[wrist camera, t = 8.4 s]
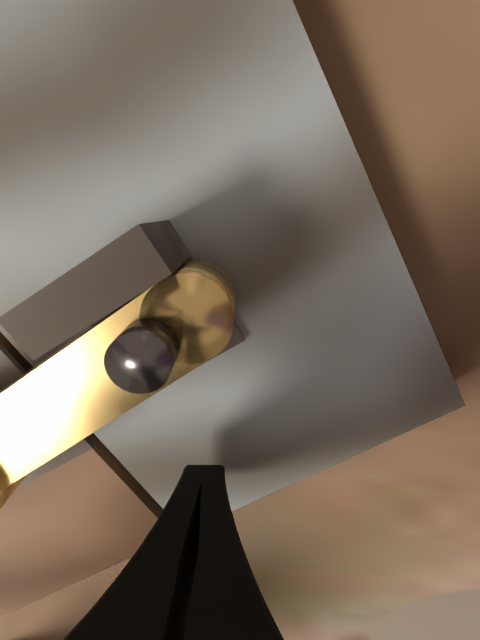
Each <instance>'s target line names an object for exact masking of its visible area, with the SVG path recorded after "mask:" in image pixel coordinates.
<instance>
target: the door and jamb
mask: <svg viewBox="0 0 480 640" xmlns="http://www.w3.org/2000/svg"><path fill="white" fill-rule="evenodd" d="M192 259H203V260H207V261H210V262H213V263H215V264H217V265H218V266H220V267H221V268H222V269H223V270H224V271H225V272H226V273H227V274H228V276H229V277H230V279H231V281H232V283H233V286H234V291H235V304H234V326H233V331H232V335H231V338H230V340H229V342H228V343H227V345H226V346H225V347H224V349H223V350H222V351H221V352H220V353H219V354H217V355H216V356H214V357H213V358H211V359H210V360H208V361H207V362H205V363H203V364H202V365H200V366H199V367H197V368H195V369H194V370H192V371H191V372H189V373H187V374H186V375H184V376H183V377H181V378H179V379H178V380H176V381H175V382H173V383H172V384H170V385H168V386H167V387H165V388H164V389H162V390H160V391H159V392H157V393H156V394H154V395H152V396H151V397H149V398H148V399H146V400H144V401H143V402H141V403H140V404H138V405H137V406H135V407H133V408H132V409H130V410H129V411H127V412H125V413H124V414H122V415H121V416H119V417H117V418H116V419H114V420H113V421H111V422H109V423H108V424H106V425H105V426H103V427H101V428H100V429H98V430H97V431H95V432H94V433H92V434H90V435H89V436H87V437H86V438H84V439H82V440H81V441H79V442H78V443H76V444H74V445H73V446H71V447H70V448H68V449H66V450H65V451H63V452H62V453H60V454H59V455H57V456H55V457H54V458H52V459H51V460H49V461H47V462H46V463H44V464H43V465H41V466H39V467H38V468H36V469H35V470H33V471H31V472H30V473H29V474H28V475H27V476H26V478H25V479H24V480H23V481H22V483H21V484H20V485H19V486H18V488H17V489H16V490H15V491H14V493H13V494H12V495H11V496H10V498H9V499H8V500H7V502H6V503H5V504H4V505H3V507H2V508H1V509H0V617H1V616H3V615H6V614H8V613H10V612H12V611H14V610H17V609H19V608H21V607H23V606H25V605H28V604H30V603H32V602H34V601H36V600H38V599H41V598H43V597H45V596H47V595H49V594H52V593H54V592H56V591H58V590H60V589H63V588H65V587H67V586H69V585H71V584H74V583H76V582H78V581H80V580H82V579H85V578H87V577H89V576H91V575H93V574H96V573H98V572H100V571H102V570H104V569H107V568H109V567H111V566H113V565H115V564H118V563H120V562H122V561H124V560H126V559H129V558H131V557H133V555H134V554H135V553H136V551H137V550H138V548H139V547H140V545H141V544H142V542H143V541H144V539H145V538H146V536H147V535H148V533H149V532H150V530H151V529H152V527H153V526H154V524H155V522H156V521H157V519H158V518H159V516H160V514H161V512H162V511H163V509H164V507H165V506H166V504H167V502H168V500H169V499H170V497H171V495H172V493H173V491H174V489H175V487H176V485H177V483H178V481H179V479H180V477H181V475H182V473H183V470H184V468H185V467H186V466H187V465H222V466H224V467H225V482H226V489H227V494H228V499H229V503H230V507H231V511H234V510H236V509H238V508H240V507H243V506H245V505H247V504H249V503H251V502H254V501H256V500H258V499H260V498H262V497H265V496H267V495H269V494H271V493H273V492H276V491H278V490H280V489H282V488H284V487H287V486H289V485H291V484H293V483H295V482H298V481H300V480H302V479H304V478H306V477H309V476H311V475H313V474H315V473H317V472H319V471H322V470H324V469H326V468H328V467H330V466H333V465H335V464H337V463H339V462H341V461H344V460H346V459H348V458H350V457H352V456H355V455H357V454H359V453H361V452H363V451H366V450H368V449H370V448H372V447H374V446H377V445H379V444H381V443H383V442H385V441H388V440H390V439H392V438H394V437H396V436H399V435H401V434H403V433H405V432H407V431H410V430H412V429H414V428H416V427H418V426H420V425H423V424H425V423H427V422H429V421H431V420H434V419H436V418H438V417H440V416H442V415H445V414H447V413H449V412H451V411H453V410H456V409H458V408H460V407H462V406H464V405H465V403H464V401H463V399H462V396H461V394H460V392H459V389H458V387H457V385H456V382H455V380H454V378H453V375H452V373H451V370H450V368H449V366H448V363H447V361H446V359H445V356H444V354H443V352H442V349H441V347H440V345H439V342H438V340H437V338H436V335H435V333H434V331H433V328H432V326H431V324H430V321H429V319H428V317H427V314H426V312H425V310H424V307H423V305H422V303H421V300H420V298H419V296H418V293H417V291H416V289H415V286H414V284H413V281H412V279H411V277H410V274H409V272H408V270H407V267H406V265H405V263H404V260H403V258H402V256H401V253H400V251H399V249H398V246H397V244H396V242H395V239H394V237H393V235H392V232H391V230H390V228H389V225H388V223H387V221H386V218H385V216H384V214H383V211H382V209H381V207H380V204H379V202H378V199H377V197H376V195H375V192H374V190H373V188H372V185H371V183H370V181H369V178H368V176H367V174H366V171H365V169H364V167H363V164H362V162H361V160H360V157H359V155H358V153H357V150H356V148H355V146H354V143H353V141H352V139H351V136H350V134H349V132H348V129H347V127H346V125H345V122H344V120H343V118H342V115H341V113H340V110H339V108H338V106H337V103H336V101H335V99H334V96H333V94H332V92H331V89H330V87H329V85H328V82H327V80H326V78H325V75H324V73H323V71H322V68H321V66H320V64H319V61H318V59H317V57H316V54H315V52H314V50H313V47H312V45H311V43H310V40H309V38H308V36H307V33H306V31H305V29H304V26H303V24H302V21H301V19H300V17H299V14H298V12H297V10H296V7H295V5H294V3H293V0H0V391H1V390H2V389H4V388H5V387H6V386H8V385H9V384H11V383H12V382H14V381H15V380H16V379H18V378H19V377H21V376H22V375H23V374H25V373H26V372H28V371H29V370H30V369H32V368H33V367H35V366H36V365H37V364H39V363H40V362H42V361H43V360H44V359H46V358H47V357H49V356H50V355H51V354H53V353H54V352H56V351H57V350H59V349H60V348H61V347H63V346H64V345H66V344H67V343H68V342H70V341H71V340H73V339H74V338H75V337H77V336H78V335H80V334H81V333H82V332H84V331H85V330H87V329H88V328H89V327H91V326H92V325H94V324H95V323H96V322H98V321H99V320H101V319H102V318H104V317H105V316H106V315H108V314H109V313H111V312H112V311H113V310H115V309H117V308H118V307H120V306H121V305H123V304H125V303H126V302H128V301H129V300H131V299H133V298H134V297H136V296H137V295H139V294H141V293H142V292H144V291H145V290H147V289H149V288H150V287H152V286H154V285H155V284H157V283H158V282H160V281H162V280H163V279H165V278H166V277H168V276H170V275H171V274H173V273H174V272H175V271H176V270H177V269H178V268H179V267H180V266H181V265H182V264H183V263H184V262H185V261H187V260H192Z"/></svg>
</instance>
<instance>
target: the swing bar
mask: <svg viewBox="0 0 480 640" xmlns="http://www.w3.org/2000/svg"><path fill="white" fill-rule="evenodd" d="M234 304H235V291H234V286H233V283H232V281H231V279H230V277H229V276H228V274H227V273H226V272H225V271H224V270H223V269H222V268H221V267H220V266H218V265H217V264H215V263H213V262H210V261H207V260H203V259H192V260H187V261H185V262H184V263H183V264H182V265H181V266H180V267H179V268H178V269H177V270H176V271H175V272H174V273H173V274H171V275H170V276H168V277H166V278H165V279H163V280H162V281H160V282H158V283H157V284H155V285H154V286H152V287H150V288H149V289H147V290H145V291H144V292H142V293H141V294H139V295H137V296H136V297H134V298H133V299H131V300H129V301H128V302H126V303H125V304H123V305H121V306H120V307H118V308H117V309H115V310H113V311H112V312H111V313H109V314H108V315H106V316H105V317H104V318H102V319H101V320H99V321H98V322H96V323H95V324H94V325H92V326H91V327H89V328H88V329H87V330H85V331H84V332H82V333H81V334H80V335H78V336H77V337H75V338H74V339H73V340H71V341H70V342H68V343H67V344H66V345H64V346H63V347H61V348H60V349H59V350H57V351H56V352H54V353H53V354H51V355H50V356H49V357H47V358H46V359H44V360H43V361H42V362H40V363H39V364H37V365H36V366H35V367H33V368H32V369H30V370H29V371H28V372H26V373H25V374H23V375H22V376H21V377H19V378H18V379H16V380H15V381H14V382H12V383H11V384H9V385H8V386H6V387H5V388H4V389H2V390H1V391H0V509H1V508H2V507H3V505H4V504H5V503H6V502H7V500H8V499H9V498H10V496H11V495H12V494H13V493H14V491H15V490H16V489H17V488H18V486H19V485H20V484H21V483H22V481H23V480H24V479H25V478H26V476H27V475H28V474H29V473H30V472H31V471H33V470H35V469H36V468H38V467H39V466H41V465H43V464H44V463H46V462H47V461H49V460H51V459H52V458H54V457H55V456H57V455H59V454H60V453H62V452H63V451H65V450H66V449H68V448H70V447H71V446H73V445H74V444H76V443H78V442H79V441H81V440H82V439H84V438H86V437H87V436H89V435H90V434H92V433H94V432H95V431H97V430H98V429H100V428H101V427H103V426H105V425H106V424H108V423H109V422H111V421H113V420H114V419H116V418H117V417H119V416H121V415H122V414H124V413H125V412H127V411H129V410H130V409H132V408H133V407H135V406H137V405H138V404H140V403H141V402H143V401H144V400H146V399H148V398H149V397H151V396H152V395H154V394H156V393H157V392H159V391H160V390H162V389H164V388H165V387H167V386H168V385H170V384H172V383H173V382H175V381H176V380H178V379H179V378H181V377H183V376H184V375H186V374H187V373H189V372H191V371H192V370H194V369H195V368H197V367H199V366H200V365H202V364H203V363H205V362H207V361H208V360H210V359H211V358H213V357H214V356H216V355H217V354H219V353H220V352H221V351H222V350H223V349H224V347H225V346H226V345H227V343H228V342H229V340H230V338H231V335H232V331H233V326H234Z"/></svg>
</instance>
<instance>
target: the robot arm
mask: <svg viewBox="0 0 480 640" xmlns="http://www.w3.org/2000/svg"><path fill="white" fill-rule="evenodd" d="M64 640H284V639H283V637H282V635H281V633H280V631H279V629H278V627H277V625H276V623H275V621H274V619H273V617H272V615H271V613H270V611H269V609H268V607H267V605H266V603H265V601H264V598H263V596H262V594H261V592H260V589H259V587H258V585H257V583H256V580H255V578H254V575H253V573H252V570H251V568H250V566H249V563H248V560H247V558H246V555H245V552H244V550H243V547H242V544H241V541H240V538H239V535H238V532H237V529H236V525H235V522H234V518H233V515H232V511H231V507H230V503H229V499H228V494H227V489H226V482H225V467H224V466H222V465H187V466H186V467H185V468H184V470H183V473H182V475H181V477H180V479H179V481H178V483H177V485H176V487H175V489H174V491H173V493H172V495H171V497H170V499H169V500H168V502H167V504H166V506H165V507H164V509H163V511H162V512H161V514H160V516H159V518H158V519H157V521H156V522H155V524H154V526H153V527H152V529H151V530H150V532H149V533H148V535H147V536H146V538H145V539H144V541H143V542H142V544H141V545H140V547H139V548H138V550H137V551H136V553H135V554H134V555H133V557H132V558H131V560H130V561H129V562H128V564H127V565H126V566H125V568H124V569H123V570H122V572H121V573H120V574H119V576H118V577H117V578H116V579H115V581H114V582H113V583H112V584H111V586H110V587H109V588H108V589H107V590H106V592H105V593H104V594H103V595H102V597H101V598H100V599H99V600H98V602H97V603H96V604H95V605H94V606H93V607H92V609H91V610H90V611H89V612H88V613H87V614H86V616H85V617H84V618H83V619H82V620H81V621H80V622H79V623H78V624H77V625H76V626H75V628H74V629H73V630H72V631H71V632H70V633H69V634H68V635H67V636H66V637H65V638H64Z"/></svg>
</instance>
